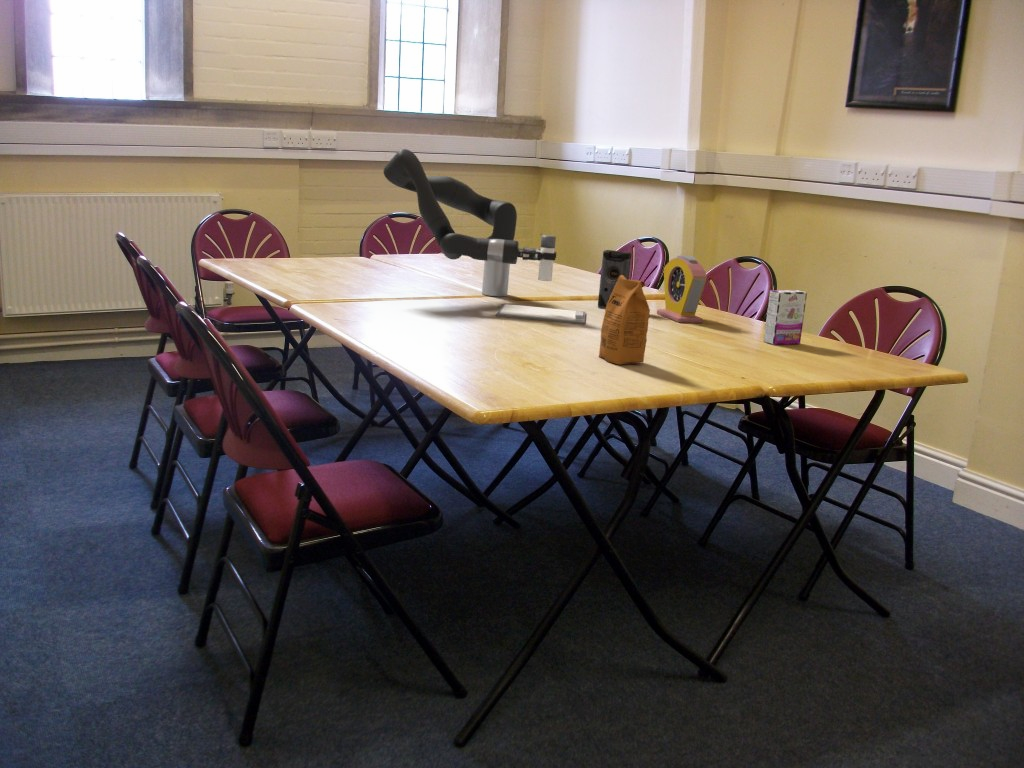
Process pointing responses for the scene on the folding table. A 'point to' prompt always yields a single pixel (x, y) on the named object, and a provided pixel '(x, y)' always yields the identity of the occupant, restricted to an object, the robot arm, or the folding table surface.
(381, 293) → the folding table surface
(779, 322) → the candy bar box
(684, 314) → the yellow desk clock
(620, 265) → the electronic device
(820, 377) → the folding table surface
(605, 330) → the coffee package
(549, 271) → the marker
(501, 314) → the clipboard
